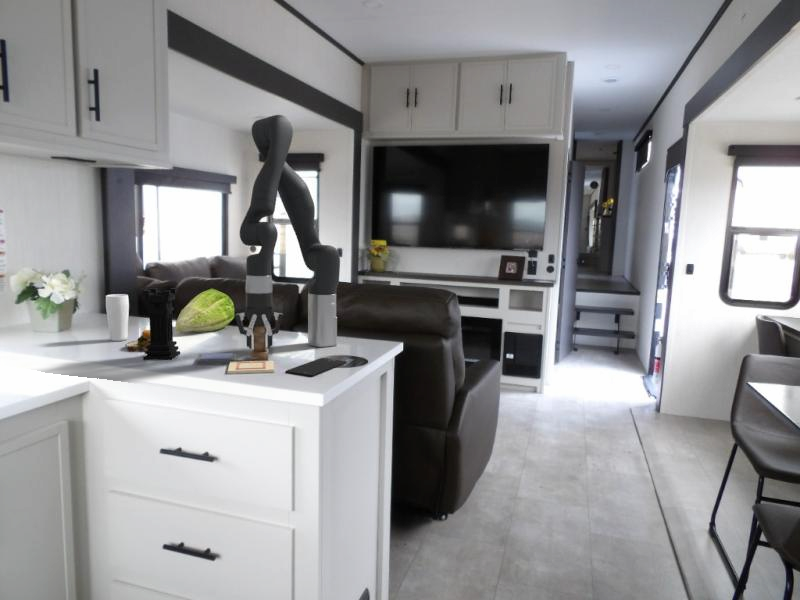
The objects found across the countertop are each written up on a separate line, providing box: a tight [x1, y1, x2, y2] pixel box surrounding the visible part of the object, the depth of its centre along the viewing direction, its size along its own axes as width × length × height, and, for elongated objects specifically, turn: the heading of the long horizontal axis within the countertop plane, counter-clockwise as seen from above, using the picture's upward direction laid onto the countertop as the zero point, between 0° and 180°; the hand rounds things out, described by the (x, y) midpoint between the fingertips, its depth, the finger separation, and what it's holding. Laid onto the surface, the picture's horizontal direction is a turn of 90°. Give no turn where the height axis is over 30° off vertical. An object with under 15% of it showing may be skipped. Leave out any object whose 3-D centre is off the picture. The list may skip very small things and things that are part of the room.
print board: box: [227, 360, 275, 375], centre depth 153 cm, size 12×10×1 cm
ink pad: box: [196, 352, 237, 366], centre depth 160 cm, size 10×8×1 cm
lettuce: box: [175, 288, 235, 333], centre depth 204 cm, size 15×24×16 cm
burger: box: [124, 329, 150, 353], centre depth 174 cm, size 12×12×8 cm
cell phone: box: [285, 357, 348, 378], centre depth 156 cm, size 9×18×1 cm, turn 154°
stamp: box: [250, 325, 269, 361], centre depth 163 cm, size 5×5×10 cm
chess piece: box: [142, 287, 181, 361], centre depth 162 cm, size 8×8×20 cm
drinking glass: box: [105, 293, 130, 342], centre depth 183 cm, size 7×7×15 cm
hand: (259, 347), depth 164 cm, fingers open, 4 cm apart
